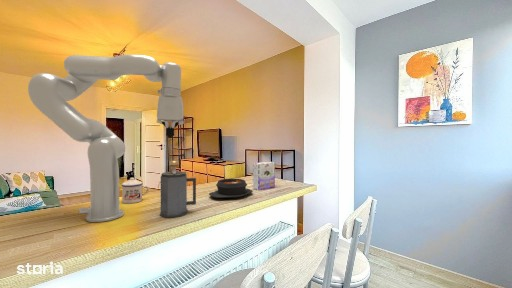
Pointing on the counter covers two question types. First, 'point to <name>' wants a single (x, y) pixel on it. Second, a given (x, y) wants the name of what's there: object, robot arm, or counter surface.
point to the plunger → (174, 165)
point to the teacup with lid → (132, 191)
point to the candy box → (263, 175)
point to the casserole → (231, 189)
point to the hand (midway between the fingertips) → (170, 137)
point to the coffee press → (175, 194)
